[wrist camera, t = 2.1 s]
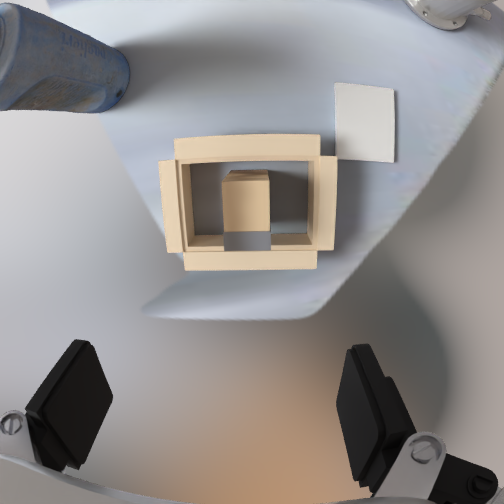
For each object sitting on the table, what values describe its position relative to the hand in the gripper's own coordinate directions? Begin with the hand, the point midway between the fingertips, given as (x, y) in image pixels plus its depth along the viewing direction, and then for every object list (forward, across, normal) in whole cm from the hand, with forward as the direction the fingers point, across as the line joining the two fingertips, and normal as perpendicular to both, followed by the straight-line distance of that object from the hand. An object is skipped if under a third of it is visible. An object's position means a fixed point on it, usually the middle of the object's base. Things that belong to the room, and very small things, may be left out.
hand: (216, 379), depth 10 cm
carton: (+31, 0, 0) cm, 31 cm away
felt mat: (+31, -16, -10) cm, 36 cm away
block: (+31, 0, 0) cm, 31 cm away
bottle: (+32, +20, -18) cm, 41 cm away
